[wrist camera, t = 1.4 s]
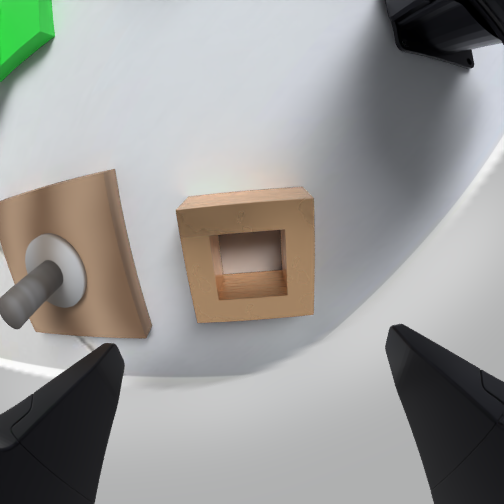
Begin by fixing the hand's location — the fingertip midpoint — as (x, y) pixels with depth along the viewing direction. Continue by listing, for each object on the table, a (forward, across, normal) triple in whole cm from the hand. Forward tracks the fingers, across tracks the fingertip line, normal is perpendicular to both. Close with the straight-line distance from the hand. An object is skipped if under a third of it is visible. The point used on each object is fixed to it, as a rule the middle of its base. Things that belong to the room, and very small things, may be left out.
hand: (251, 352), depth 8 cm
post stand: (+9, +13, 0) cm, 16 cm away
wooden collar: (+9, 0, 0) cm, 9 cm away
